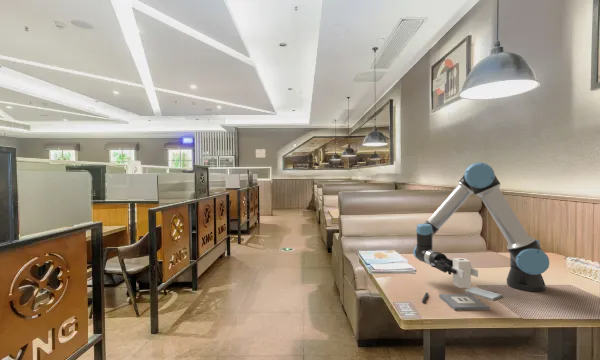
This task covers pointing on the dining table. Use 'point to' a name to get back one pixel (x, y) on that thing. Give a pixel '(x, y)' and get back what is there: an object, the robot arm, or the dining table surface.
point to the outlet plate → (463, 302)
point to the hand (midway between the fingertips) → (470, 274)
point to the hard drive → (483, 293)
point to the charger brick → (466, 267)
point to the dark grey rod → (425, 297)
